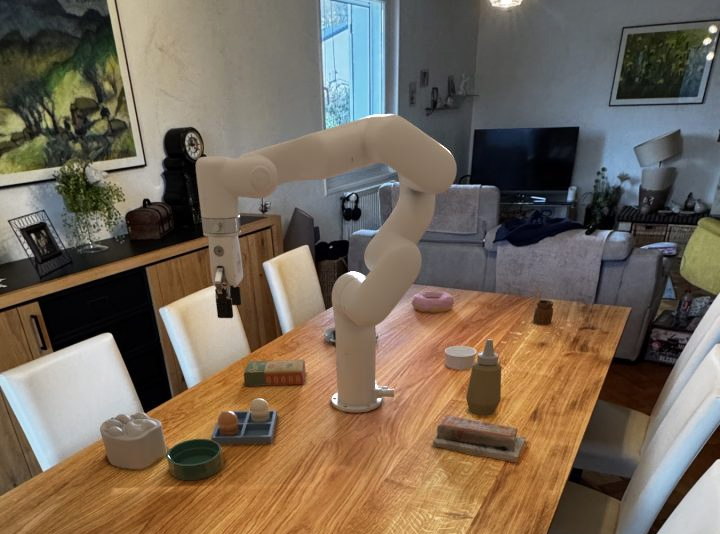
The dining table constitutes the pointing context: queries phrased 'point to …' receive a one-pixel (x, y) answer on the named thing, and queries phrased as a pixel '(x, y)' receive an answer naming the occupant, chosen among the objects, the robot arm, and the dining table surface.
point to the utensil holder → (543, 311)
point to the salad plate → (333, 336)
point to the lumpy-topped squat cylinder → (133, 440)
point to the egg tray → (248, 430)
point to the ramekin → (460, 357)
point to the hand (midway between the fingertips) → (230, 311)
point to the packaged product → (479, 438)
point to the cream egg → (259, 410)
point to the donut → (432, 301)
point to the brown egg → (228, 423)
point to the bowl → (195, 459)
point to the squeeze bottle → (485, 383)
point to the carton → (274, 372)
